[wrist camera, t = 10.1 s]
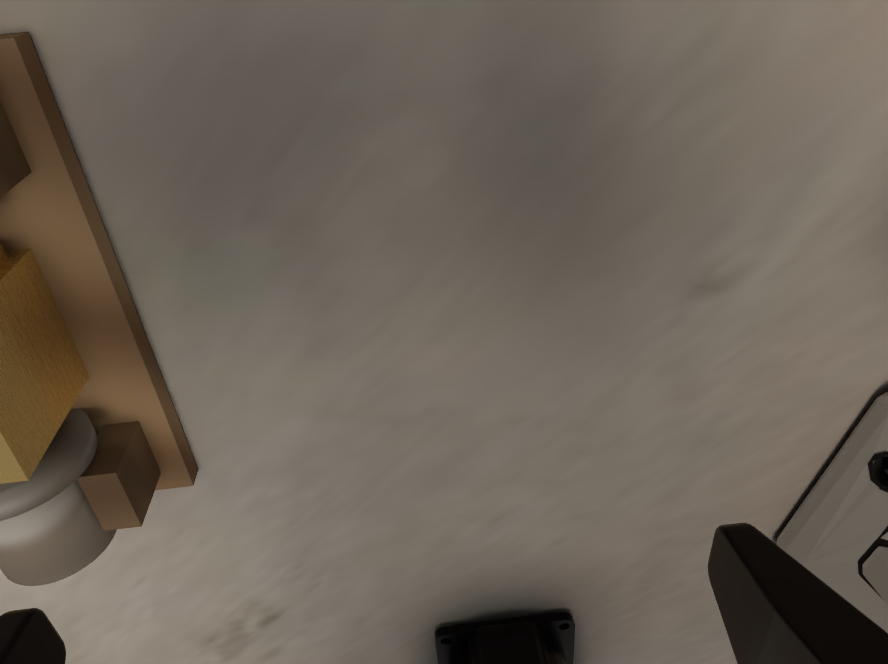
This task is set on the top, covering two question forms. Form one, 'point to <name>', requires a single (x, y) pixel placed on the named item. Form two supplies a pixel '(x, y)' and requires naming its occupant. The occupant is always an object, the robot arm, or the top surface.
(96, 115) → the top surface
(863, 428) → the electrical switch
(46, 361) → the yellow hollow block
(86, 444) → the pipe cradle
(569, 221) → the top surface
